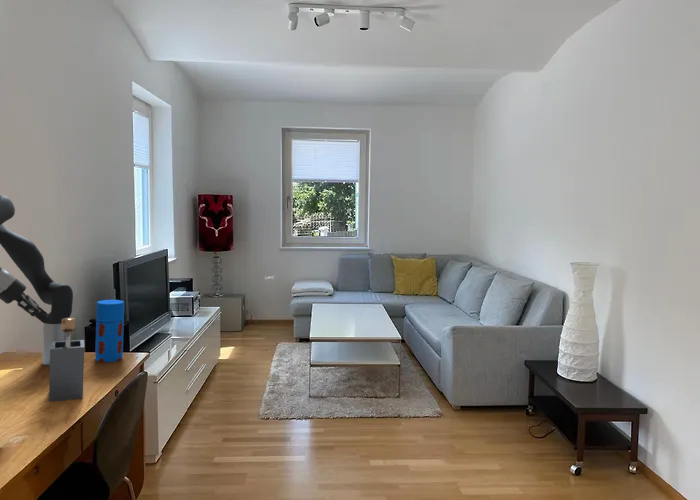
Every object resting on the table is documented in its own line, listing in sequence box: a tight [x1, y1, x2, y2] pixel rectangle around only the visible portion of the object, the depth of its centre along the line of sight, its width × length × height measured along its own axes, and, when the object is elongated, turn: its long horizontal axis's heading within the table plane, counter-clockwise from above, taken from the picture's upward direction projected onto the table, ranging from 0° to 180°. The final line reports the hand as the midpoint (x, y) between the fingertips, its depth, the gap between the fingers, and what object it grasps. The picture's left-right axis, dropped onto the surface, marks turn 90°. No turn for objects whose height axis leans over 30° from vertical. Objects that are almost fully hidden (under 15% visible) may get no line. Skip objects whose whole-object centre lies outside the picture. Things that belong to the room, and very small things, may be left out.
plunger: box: [62, 317, 76, 347], centre depth 169 cm, size 7×7×26 cm
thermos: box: [94, 299, 125, 363], centre depth 212 cm, size 11×11×25 cm
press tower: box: [48, 339, 85, 403], centre depth 170 cm, size 10×10×18 cm
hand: (46, 318), depth 164 cm, fingers open, 8 cm apart
